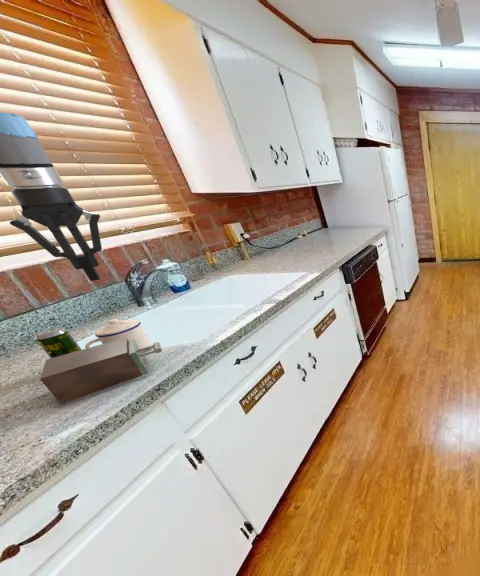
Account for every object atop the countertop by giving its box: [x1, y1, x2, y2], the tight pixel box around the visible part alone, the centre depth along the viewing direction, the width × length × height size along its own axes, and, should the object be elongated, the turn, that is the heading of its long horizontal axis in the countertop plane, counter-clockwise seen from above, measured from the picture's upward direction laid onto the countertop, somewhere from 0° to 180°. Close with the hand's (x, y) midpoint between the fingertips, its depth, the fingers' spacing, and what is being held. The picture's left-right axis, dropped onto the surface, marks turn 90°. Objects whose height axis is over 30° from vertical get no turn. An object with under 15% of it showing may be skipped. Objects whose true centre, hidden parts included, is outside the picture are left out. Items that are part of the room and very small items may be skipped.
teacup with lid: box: [84, 318, 153, 353], centre depth 93 cm, size 12×9×12 cm
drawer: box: [128, 339, 163, 376], centre depth 84 cm, size 17×10×7 cm, turn 141°
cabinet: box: [39, 338, 143, 405], centre depth 81 cm, size 14×12×9 cm
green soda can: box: [33, 326, 83, 359], centre depth 87 cm, size 5×5×12 cm
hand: (95, 279), depth 79 cm, fingers closed
